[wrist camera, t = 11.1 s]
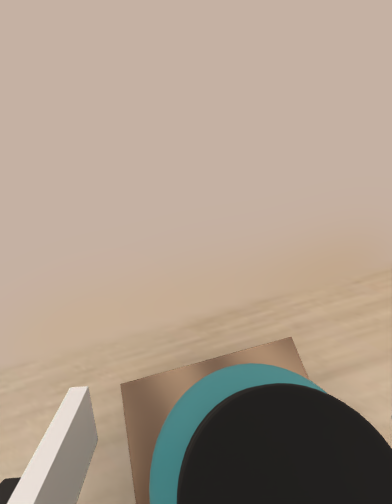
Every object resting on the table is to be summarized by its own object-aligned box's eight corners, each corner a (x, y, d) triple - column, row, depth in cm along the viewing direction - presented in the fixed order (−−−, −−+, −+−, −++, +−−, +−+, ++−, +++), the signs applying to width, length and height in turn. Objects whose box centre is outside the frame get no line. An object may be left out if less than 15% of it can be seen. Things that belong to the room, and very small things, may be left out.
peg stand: (163, 582, 23) (151, 620, 18) (135, 392, 29) (120, 384, 25) (343, 521, 24) (375, 541, 20) (278, 352, 31) (291, 336, 26)
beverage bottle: (186, 404, 24) (102, 314, 7) (276, 401, 24) (437, 300, 6) (187, 516, 20) (21, 934, 3) (292, 514, 20) (719, 960, 3)
